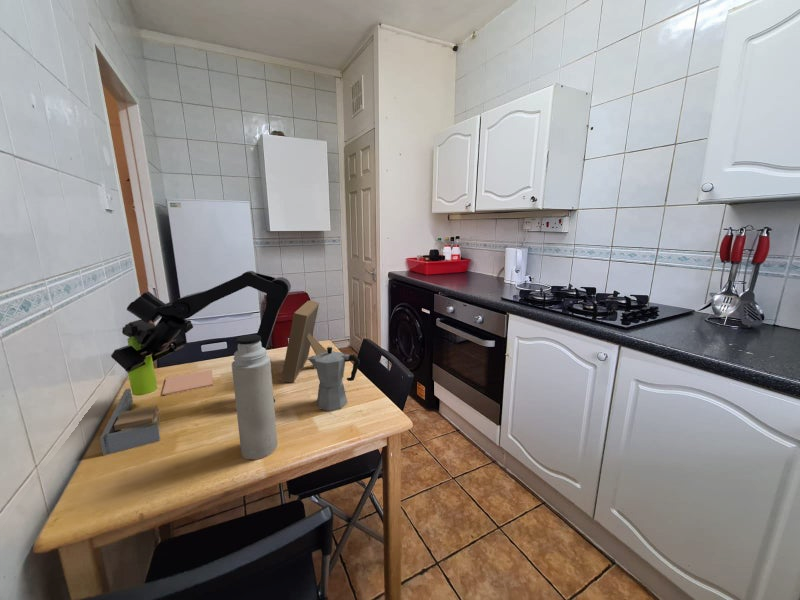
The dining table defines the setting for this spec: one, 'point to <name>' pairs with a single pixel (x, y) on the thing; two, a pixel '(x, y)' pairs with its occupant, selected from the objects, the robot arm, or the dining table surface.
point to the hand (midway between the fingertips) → (137, 367)
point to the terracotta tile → (187, 382)
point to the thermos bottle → (254, 398)
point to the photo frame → (301, 341)
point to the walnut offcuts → (137, 418)
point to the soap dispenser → (142, 373)
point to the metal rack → (126, 438)
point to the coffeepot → (332, 378)
